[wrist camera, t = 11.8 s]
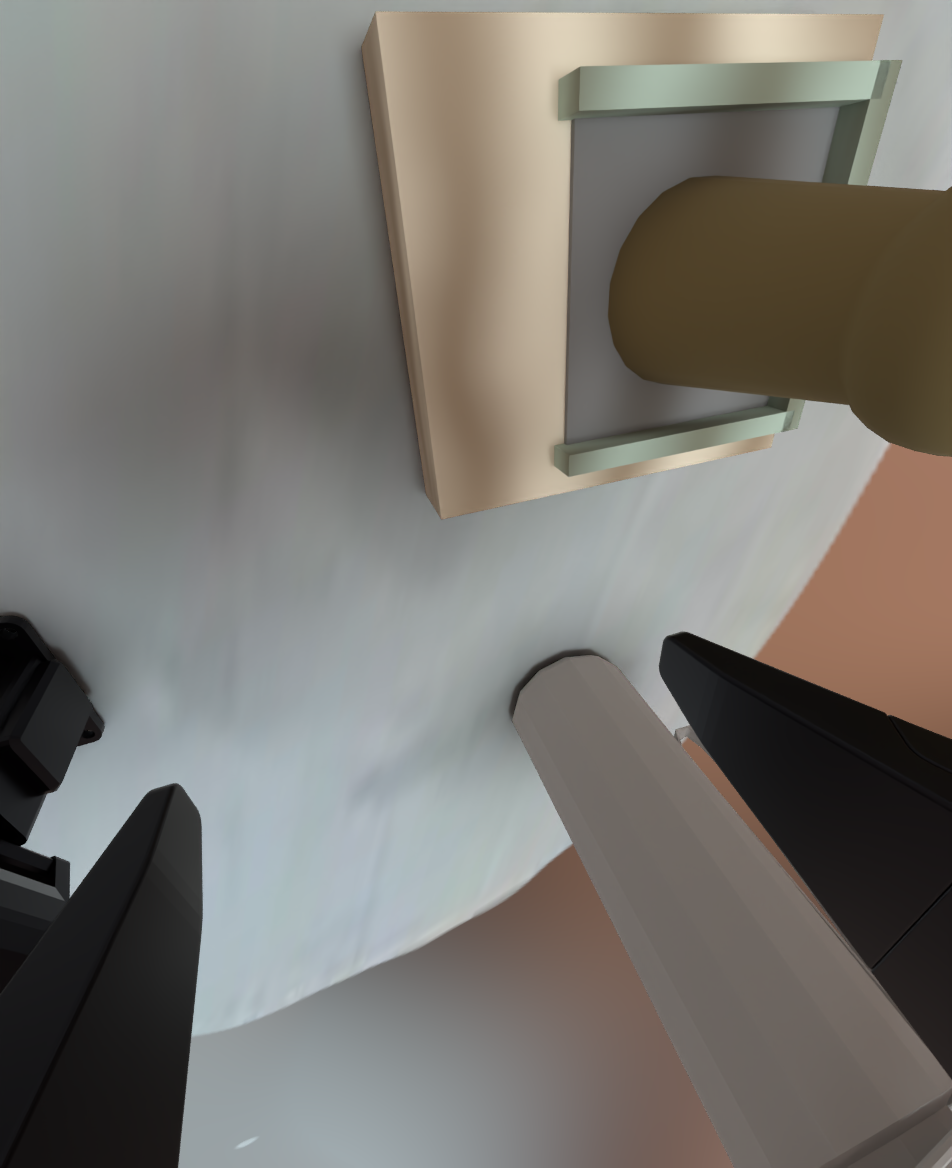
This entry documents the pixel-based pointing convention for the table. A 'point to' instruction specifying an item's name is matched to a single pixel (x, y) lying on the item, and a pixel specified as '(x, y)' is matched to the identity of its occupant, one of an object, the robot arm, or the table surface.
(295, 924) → the table surface
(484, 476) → the dock
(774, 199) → the cork
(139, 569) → the table surface
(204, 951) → the table surface
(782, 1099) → the water bottle
